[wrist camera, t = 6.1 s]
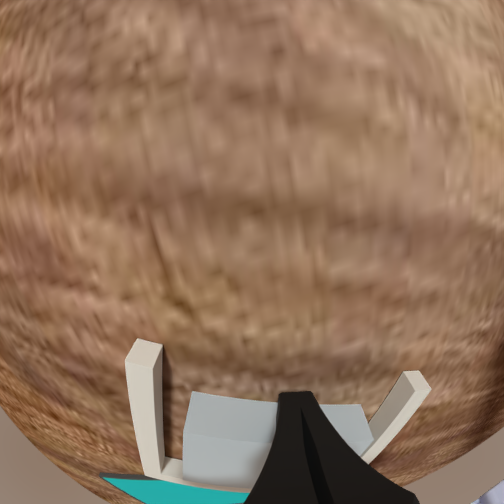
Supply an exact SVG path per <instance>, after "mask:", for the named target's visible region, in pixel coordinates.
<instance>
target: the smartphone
mask: <svg viewBox="0 0 504 504" xmlns="http://www.w3.org/2000/svg"><path fill="white" fill-rule="evenodd" d="M99 477H100V478H102V479H103V480H105V481H106V482H108V483H110V484H111V485H113V486H114V487H116V488H118V489H119V490H121V491H123V492H124V493H126V494H128V495H129V496H131V497H133V498H135V499H137V500H138V501H140V502H142V503H144V504H242V503H244V502H245V500H246V498H247V497H248V495H249V493H242V492H230V491H221V490H213V489H206V488H199V487H193V486H188V485H182V484H178V483H173V482H168V481H164V480H160V479H156V478H152V477H148V476H145V475H129V474H111V473H100V475H99Z"/></svg>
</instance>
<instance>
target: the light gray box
mask: <svg viewBox="0 0 504 504" xmlns="http://www.w3.org/2000/svg"><path fill="white" fill-rule="evenodd" d="M277 406H278V403H276V402H265V401H255V400H246V399H238V398H231V397H224V396H217V395H211V394H205V393H200V392H195V391H192V395H191V399H190V404H189V408H188V413H187V417H186V422H185V427H184V431H183V480H185V481H191V482H197V483H203V484H209V485H217V486H225V487H235V488H248V489H252V488H253V487H254V485H255V483H256V481H257V479H258V477H259V475H260V473H261V471H262V469H263V466H264V464H265V462H266V459H267V457H268V454H269V451H270V448H271V445H272V442H273V439H274V436H275V432H276V414H277ZM319 406H320V407H321V409H322V411H323V412H324V414H325V415H326V417H327V418H328V420H329V421H330V422H331V424H332V425H333V427H334V428H335V429H336V431H337V432H338V433H339V434H340V436H341V437H342V438H343V439H344V440H345V442H346V443H347V444H348V445H349V446H350V447H351V448H352V449H353V450H354V451H355V452H356V453H357V454H358V455H359V456H360V455H361V454H362V453H363V452H364V451H365V450H366V449H367V447H368V446H369V445H370V444H371V443H372V442H373V440H374V439H373V436H372V433H371V431H370V428H369V425H368V423H367V420H366V417H365V415H364V412H363V409H362V407H361V404H353V405H319Z"/></svg>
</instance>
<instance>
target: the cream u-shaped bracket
mask: <svg viewBox="0 0 504 504" xmlns="http://www.w3.org/2000/svg"><path fill="white" fill-rule="evenodd" d="M162 352H163V345H162V344H158V343H154V342H150V341H146V340H142V339H138V338H137V340H136V341H135V343H134V345H133V347H132V348H131V350H130V352H129V354H128V356H127V357H126V359H125V368H126V377H127V385H128V393H129V400H130V406H131V413H132V418H133V424H134V429H135V434H136V439H137V444H138V449H139V453H140V457H141V462H142V466H143V470H144V473H145V476H148V477H152V478H156V479H160V480H164V481H168V482H173V483H178V484H182V485H188V486H193V487H199V488H206V489H213V490H221V491H230V492H242V493H250V492H251V490H252V489H248V488H235V487H225V486H217V485H209V484H203V483H197V482H191V481H185V480H183V460H178V459H174V458H169V457H165V450H164V433H163V407H162ZM430 391H431V388H430V386H429V385H428V383H427V382H426V380H425V379H424V377H423V376H422V374H421V373H420V371H403V372H402V374H401V376H400V377H399V379H398V380H397V382H396V384H395V385H394V387H393V388H392V390H391V391H390V393H389V395H388V396H387V398H386V399H385V400H384V402H383V403H382V405H381V406H380V408H379V409H378V411H377V412H376V413H375V415H374V416H373V417H372V419H371V420H370V422H369V423H368V425H369V428H370V431H371V433H372V436H373V439H374V440H373V442H372V443H371V444H370V445H369V446H368V447H367V449H366V450H365V451H364V452H363V453H362V454H361V455H360V457H361V458H362V459H363V460H364V461H365V462H366V463H367V464H369V463H370V462H371V461H372V460H373V459H374V458H375V457H376V456H377V455H378V454H379V453H380V452H381V451H382V450H383V449H384V448H385V447H386V446H387V445H388V443H389V442H390V441H391V440H392V439H393V438H394V437H395V436H396V434H397V433H398V432H399V431H400V430H401V429H402V427H403V426H404V425H405V424H406V422H407V421H408V420H409V419H410V418H411V416H412V415H413V414H414V412H415V411H416V410H417V408H418V407H419V406H420V404H421V403H422V402H423V400H424V399H425V398H426V396H427V395H428V393H429V392H430Z"/></svg>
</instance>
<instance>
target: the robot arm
mask: <svg viewBox="0 0 504 504" xmlns="http://www.w3.org/2000/svg"><path fill="white" fill-rule="evenodd" d="M243 504H420V503H419V501H418V499H417V497H416V496H415V494H414V493H412V492H410V491H408V490H406V489H404V488H402V487H400V486H399V485H397V484H395V483H394V482H392V481H390V480H389V479H387V478H386V477H384V476H383V475H382V474H380V473H379V472H378V471H376V470H375V469H374V468H372V467H371V466H370V465H369V464H367V463H366V462H365V461H364V460H363V459H362V458H361V457H360V456H359V455H358V454H357V453H356V452H355V451H354V450H353V449H352V448H351V447H350V446H349V445H348V444H347V443H346V442H345V440H344V439H343V438H342V437H341V436H340V434H339V433H338V432H337V431H336V429H335V428H334V427H333V425H332V424H331V422H330V421H329V420H328V418H327V417H326V415H325V414H324V412H323V411H322V409H321V407H320V406H319V404H318V402H317V401H316V399H315V397H314V395H313V393H312V392H311V391H305V392H285V393H280V394H279V398H278V406H277V414H276V432H275V436H274V439H273V442H272V445H271V448H270V451H269V454H268V457H267V459H266V462H265V464H264V466H263V469H262V471H261V473H260V475H259V477H258V479H257V481H256V483H255V485H254V487H253V488H252V490H251V492H250V493H249V495H248V497H247V498H246V500H245V502H244V503H243ZM470 504H504V480H502V481H501V482H499V483H498V484H497V485H495V486H494V487H492V488H491V489H490V490H488V491H487V492H486V493H484V494H483V495H482V496H480V498H478V499H477V500H475V501H474V502H472V503H470Z"/></svg>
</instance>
